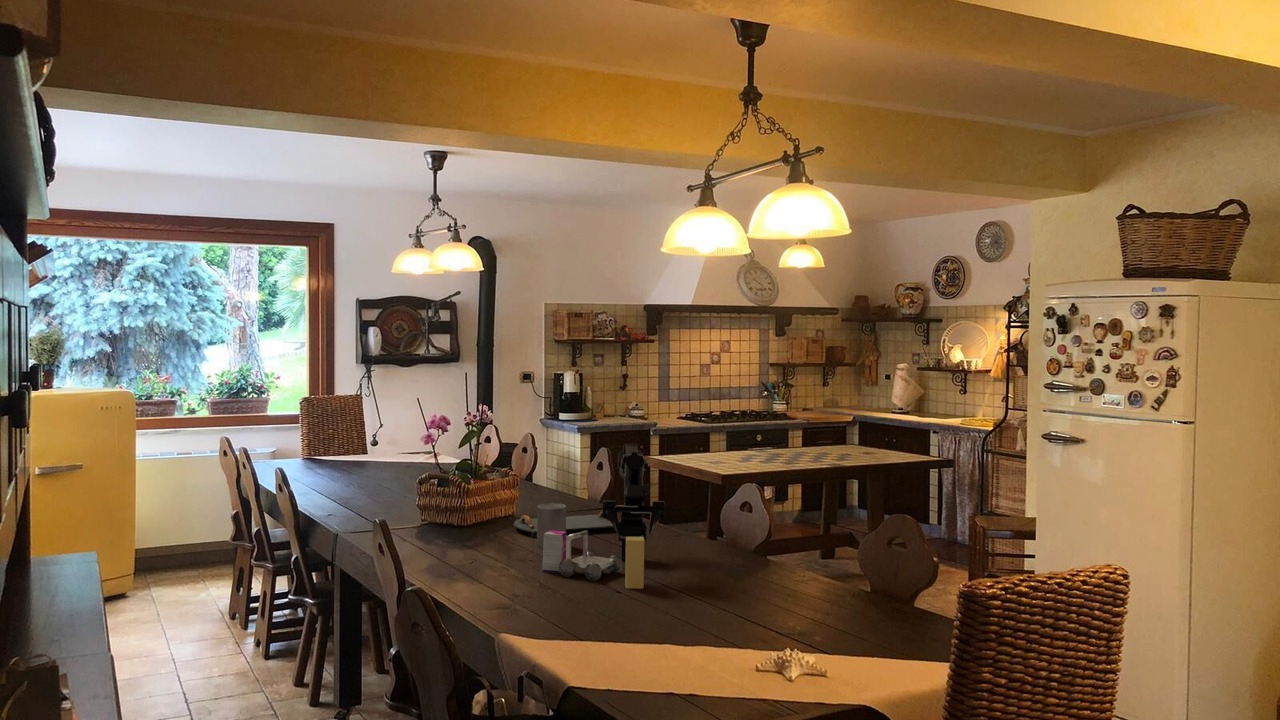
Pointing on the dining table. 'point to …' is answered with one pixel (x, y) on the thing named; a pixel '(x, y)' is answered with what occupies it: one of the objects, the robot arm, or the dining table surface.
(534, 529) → the serving board
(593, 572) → the trolley
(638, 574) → the tall yellow block
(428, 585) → the dining table surface
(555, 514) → the pillar candle
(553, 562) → the supplement box
